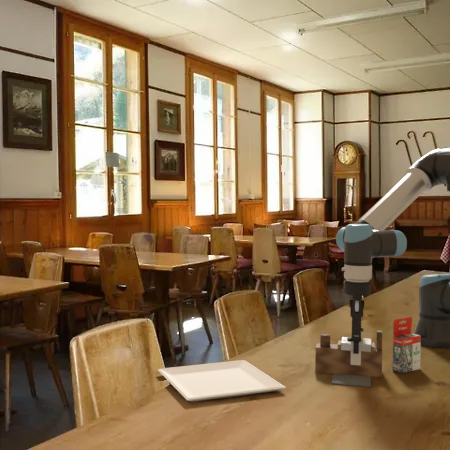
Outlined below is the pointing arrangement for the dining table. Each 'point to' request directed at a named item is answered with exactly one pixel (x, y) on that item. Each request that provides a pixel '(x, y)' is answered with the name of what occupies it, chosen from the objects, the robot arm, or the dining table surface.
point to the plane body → (348, 358)
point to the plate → (219, 380)
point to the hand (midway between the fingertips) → (355, 359)
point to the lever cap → (364, 344)
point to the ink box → (405, 347)
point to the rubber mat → (351, 380)
